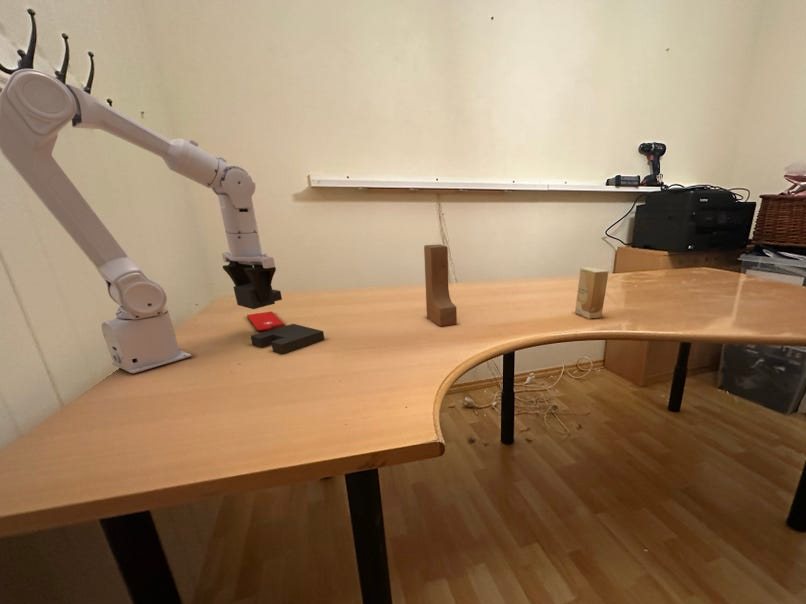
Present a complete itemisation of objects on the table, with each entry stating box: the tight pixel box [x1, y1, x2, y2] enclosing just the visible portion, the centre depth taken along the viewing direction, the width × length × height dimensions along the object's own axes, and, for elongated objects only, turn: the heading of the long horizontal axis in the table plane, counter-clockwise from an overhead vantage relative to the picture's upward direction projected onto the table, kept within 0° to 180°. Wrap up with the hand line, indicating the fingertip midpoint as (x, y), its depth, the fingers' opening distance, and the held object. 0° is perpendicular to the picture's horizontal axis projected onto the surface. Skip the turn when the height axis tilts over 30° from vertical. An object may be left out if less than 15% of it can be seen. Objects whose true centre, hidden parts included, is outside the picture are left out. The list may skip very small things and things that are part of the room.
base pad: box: [250, 323, 325, 355], centre depth 84 cm, size 10×10×2 cm
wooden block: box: [423, 244, 458, 327], centre depth 97 cm, size 9×4×18 cm, turn 28°
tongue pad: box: [233, 283, 283, 310], centre depth 86 cm, size 8×6×4 cm
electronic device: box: [246, 311, 286, 333], centre depth 97 cm, size 6×1×15 cm
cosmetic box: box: [574, 266, 609, 320], centre depth 104 cm, size 6×4×12 cm
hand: (255, 299), depth 85 cm, fingers closed on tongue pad, 5 cm apart
